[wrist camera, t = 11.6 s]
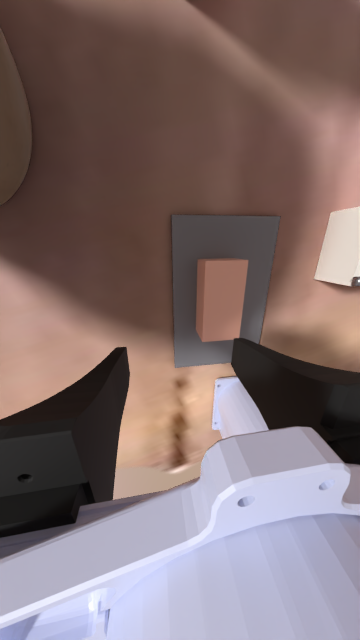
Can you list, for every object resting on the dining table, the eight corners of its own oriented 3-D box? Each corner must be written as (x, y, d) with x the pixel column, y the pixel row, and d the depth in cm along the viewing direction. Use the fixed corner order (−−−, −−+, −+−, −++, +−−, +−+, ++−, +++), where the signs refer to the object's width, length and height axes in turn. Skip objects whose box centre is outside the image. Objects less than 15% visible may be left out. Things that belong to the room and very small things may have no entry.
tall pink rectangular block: (228, 327, 22) (239, 339, 20) (195, 330, 22) (202, 342, 19) (234, 258, 19) (248, 260, 17) (197, 258, 19) (205, 261, 16)
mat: (254, 358, 25) (256, 359, 25) (174, 366, 24) (175, 367, 23) (278, 216, 19) (280, 216, 19) (171, 215, 18) (171, 214, 17)
